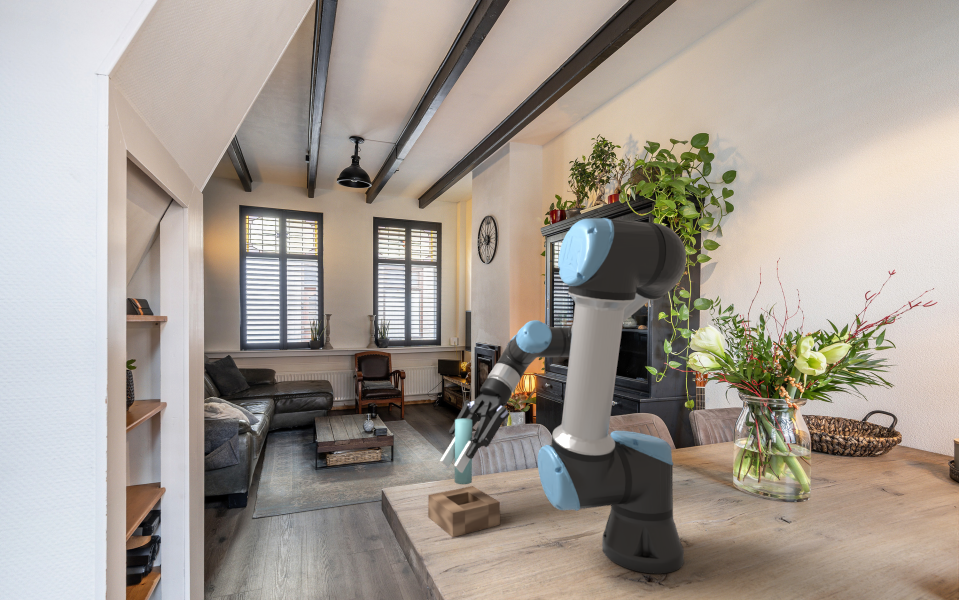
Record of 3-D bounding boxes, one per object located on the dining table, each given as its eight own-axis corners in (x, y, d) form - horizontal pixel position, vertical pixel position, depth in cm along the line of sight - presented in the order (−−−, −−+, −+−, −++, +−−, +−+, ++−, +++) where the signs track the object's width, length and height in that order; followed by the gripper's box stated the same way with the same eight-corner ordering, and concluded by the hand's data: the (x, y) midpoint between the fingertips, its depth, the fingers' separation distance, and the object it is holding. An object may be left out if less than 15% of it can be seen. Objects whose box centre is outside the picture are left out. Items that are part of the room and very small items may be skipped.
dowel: (475, 482, 106) (475, 421, 106) (459, 485, 104) (460, 422, 104) (466, 477, 109) (466, 417, 110) (451, 480, 107) (452, 419, 108)
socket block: (499, 524, 103) (499, 501, 103) (452, 537, 97) (452, 513, 97) (472, 506, 113) (472, 485, 114) (428, 516, 107) (428, 495, 107)
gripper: (532, 399, 112) (486, 485, 100) (482, 391, 124) (434, 467, 111) (519, 379, 109) (469, 465, 96) (468, 373, 121) (418, 449, 108)
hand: (451, 466), depth 104 cm, fingers closed on dowel, 4 cm apart
